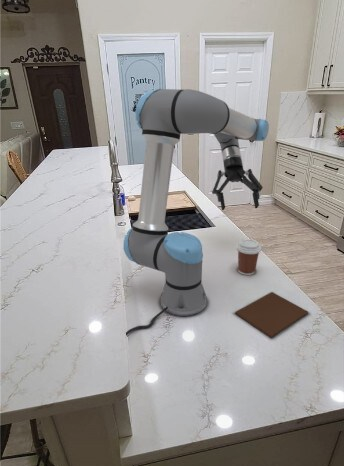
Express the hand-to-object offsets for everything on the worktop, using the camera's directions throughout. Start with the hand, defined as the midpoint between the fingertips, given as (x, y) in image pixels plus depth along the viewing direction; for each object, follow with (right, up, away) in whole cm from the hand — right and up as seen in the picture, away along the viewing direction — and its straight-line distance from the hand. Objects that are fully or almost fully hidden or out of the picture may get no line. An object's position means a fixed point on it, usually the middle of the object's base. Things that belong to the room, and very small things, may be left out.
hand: (240, 207), depth 129 cm
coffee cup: (+2, -25, -2) cm, 25 cm away
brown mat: (+4, -37, -26) cm, 45 cm away
